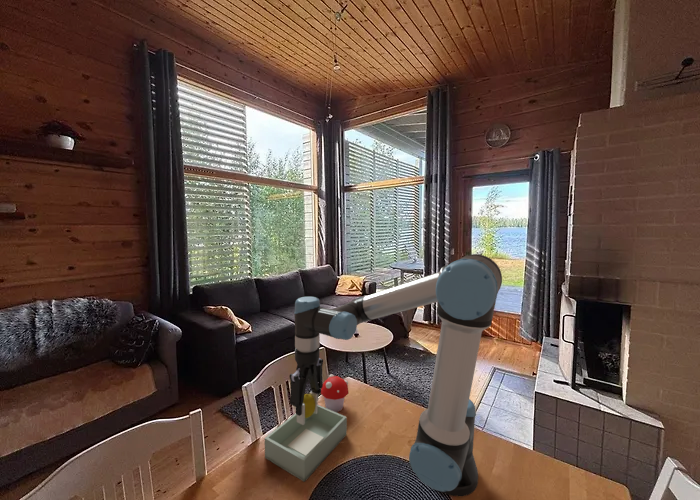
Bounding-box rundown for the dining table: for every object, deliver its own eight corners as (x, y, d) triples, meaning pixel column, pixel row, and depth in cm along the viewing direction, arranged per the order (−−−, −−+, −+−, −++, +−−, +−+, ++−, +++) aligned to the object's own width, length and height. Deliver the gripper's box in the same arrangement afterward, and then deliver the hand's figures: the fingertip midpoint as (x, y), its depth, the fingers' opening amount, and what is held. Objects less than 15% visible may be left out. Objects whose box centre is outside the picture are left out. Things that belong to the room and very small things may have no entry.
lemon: (311, 424, 93) (312, 400, 92) (294, 421, 94) (295, 397, 93) (317, 413, 99) (317, 390, 98) (301, 410, 100) (301, 387, 99)
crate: (346, 434, 102) (346, 416, 102) (304, 482, 84) (304, 460, 84) (310, 418, 111) (310, 401, 110) (264, 457, 92) (264, 438, 92)
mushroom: (337, 395, 125) (337, 367, 123) (354, 408, 116) (355, 378, 115) (315, 405, 118) (315, 376, 117) (332, 420, 110) (332, 388, 108)
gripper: (316, 334, 103) (316, 398, 106) (276, 355, 88) (277, 430, 91) (334, 339, 99) (333, 405, 102) (295, 362, 84) (296, 440, 87)
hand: (307, 417), depth 96 cm, fingers closed on lemon, 5 cm apart
